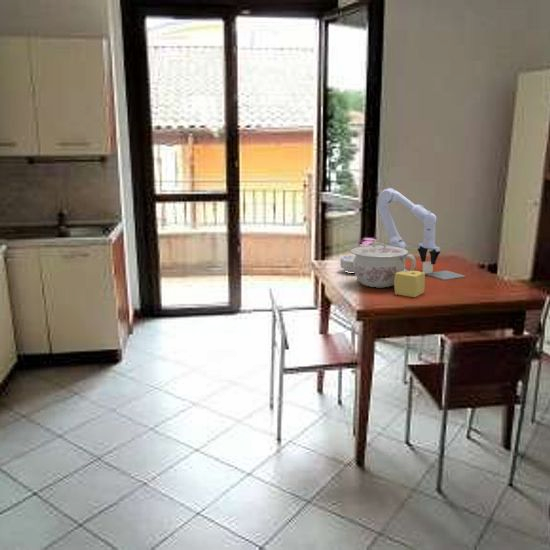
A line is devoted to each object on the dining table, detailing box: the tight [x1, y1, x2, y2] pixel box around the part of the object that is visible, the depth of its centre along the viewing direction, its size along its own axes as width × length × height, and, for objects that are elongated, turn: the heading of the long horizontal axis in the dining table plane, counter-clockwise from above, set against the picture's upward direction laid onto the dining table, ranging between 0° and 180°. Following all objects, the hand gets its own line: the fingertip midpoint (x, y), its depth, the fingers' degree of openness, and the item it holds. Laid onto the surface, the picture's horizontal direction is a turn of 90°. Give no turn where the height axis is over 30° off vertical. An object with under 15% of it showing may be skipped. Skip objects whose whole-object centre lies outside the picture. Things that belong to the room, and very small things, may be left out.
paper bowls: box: [339, 254, 356, 272], centre depth 291 cm, size 15×15×8 cm
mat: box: [425, 270, 467, 281], centre depth 281 cm, size 14×14×1 cm
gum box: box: [357, 236, 378, 247], centre depth 309 cm, size 24×8×14 cm, turn 161°
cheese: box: [393, 270, 426, 298], centre depth 249 cm, size 10×11×10 cm
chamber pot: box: [350, 242, 417, 289], centre depth 264 cm, size 28×28×21 cm
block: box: [422, 260, 434, 275], centre depth 287 cm, size 5×2×6 cm, turn 115°
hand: (428, 262), depth 286 cm, fingers open, 7 cm apart
